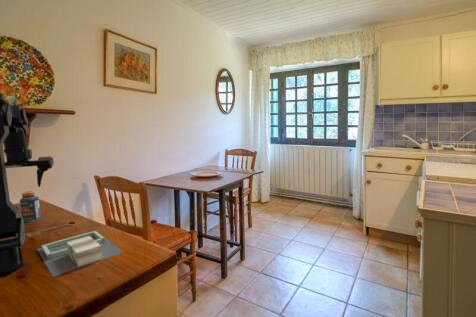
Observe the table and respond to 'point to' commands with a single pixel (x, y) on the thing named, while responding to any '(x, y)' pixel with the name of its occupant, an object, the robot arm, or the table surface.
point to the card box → (84, 251)
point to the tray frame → (65, 251)
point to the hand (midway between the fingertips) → (23, 187)
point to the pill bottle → (30, 206)
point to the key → (48, 229)
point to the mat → (67, 264)
